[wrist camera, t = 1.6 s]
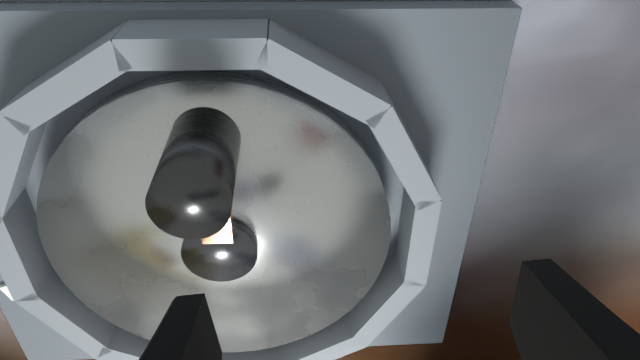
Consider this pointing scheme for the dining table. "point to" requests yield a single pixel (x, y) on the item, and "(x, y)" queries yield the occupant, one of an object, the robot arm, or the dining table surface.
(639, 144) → the dining table surface
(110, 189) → the dial
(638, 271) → the dining table surface
